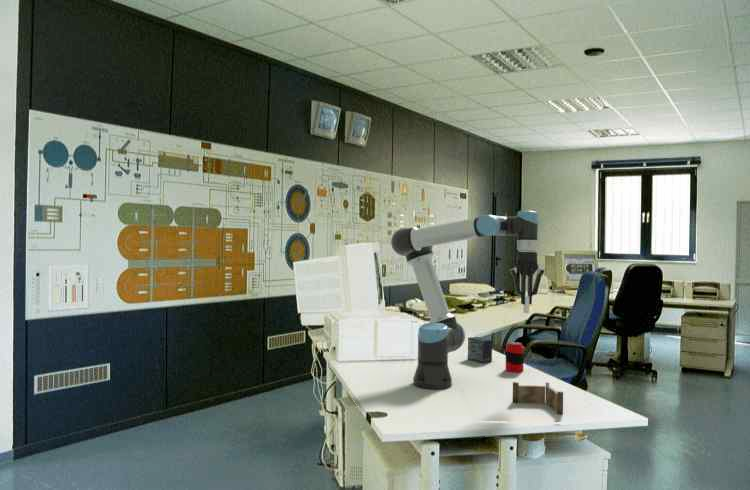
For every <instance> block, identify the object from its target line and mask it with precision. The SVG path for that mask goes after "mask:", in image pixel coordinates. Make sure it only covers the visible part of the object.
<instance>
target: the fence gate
mask: <svg viewBox="0 0 750 490" xmlns="http://www.w3.org/2000/svg"><path fill="white" fill-rule="evenodd" d="M544 404H547V406H549V407H550V408H551V409H553V410H554V411H555V412H556V413H557V415H563V414H564V392H563V391H559V390H558V391H557V390H555V389H554V388H553V387H551V386H550V382H545V403H544Z"/></svg>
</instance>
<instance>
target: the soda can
mask: <svg viewBox="0 0 750 490" xmlns="http://www.w3.org/2000/svg"><path fill="white" fill-rule="evenodd" d="M524 349H525V346H524V345H523V344H522V343H521V342H518V341H517V342H516V341H509V342H508V343H507V344H506V345H505V370H506V372H510V373H522V372H523V371H524V353H525V352H524Z"/></svg>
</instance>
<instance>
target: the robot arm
mask: <svg viewBox="0 0 750 490" xmlns="http://www.w3.org/2000/svg"><path fill="white" fill-rule="evenodd" d="M538 227H539V217H538V212H537V211H535V210H534V211H533V210H519V211H518V212H517V215H516V216H505V215H504V216H501V215H493V214H484V215H482V216H481V215H480V216H479V217H473V218H469V219H464V220H463V219H462V220H458V221H454V222H447V223H443V224H436V225H434V226H433V225H432V226H427V227H426V226H425V227H422V228H421V227H420V228H418V227H417V226H414V227H408V228H407V227H404V228H400V229H397V230H396V231H395V232H394V233H393V234H392V236H391V239H390V245H391V247H392V248H391V249H393V251H394V252H395V253H396V254H397V255H400V256H402V257H405V259H406V263H407V264H408V265H410V266H412V268H413V271H414V275H415V278H416V281H417V284H418V287H419V290H420V293H421V295H422V298H423V301H424V304H425V307H426V310H427V314H428V316H429V319H430V320H429V322H428V323H424V324H421V325H420V326H419V328H418V334H417V338H418V339H417V340H418V341H417V367H416V369H415V372H414V375H413V377H412V382H413V385H414V386H416V387H418V388H421V389H427V390H443V389H448V388H450V387H452V385H453V379H452V376H451V373H450V372H451V371H450V368H449V365H448V361H449V360H448V359H449V353H451V352H455V351H457V350H458V349H460V348H461V347H462V346H463V345H464V343H465V341H466V340H465V339H466V332H465V328H464V327H463V326H462V325H461V324H460V323H458V321H457V319H456V316H455V314H452V313H451V312H450V309H449V307H448V304H447V301H446V297H445V295H444V292H443V289H442V287H441V283H440V280H439V278H438V274H437V272H436V269H435V266H434V263H433V259H432V258H433V257H434V253H433V246H438V245H439V246H440V245H443V244H444V245H445V244H450V243H455V242H461V241H464V240H465V241H467V240H473V239H476V238H477V239H478V238H483V237H489V236H491V237H492V236H494V237H499V236H500V237H501V236H502V237H503V236H506V237H507V236H510V237H511V236H513V237H516V238H517V240H516V246H517V247H516V250H517V252H516V263H515V266H514V267H513V268H511V269H509V272H510V274H511V275H512V276H511V277H512V281H513V285H514V289H515V293H516V294H517V295H520V304H521V305H523V306H522V307H523V308H522V309H523V310H522V311H523V314H527V315H528V314H530V305H532V303H533V296H535V295H537V294H538V291H539V286H540V283H541V280H542V277H543V275H544V273H545V270H544V269H541V268H540V267H539V264H538V252H537V251H538V233H539V232H538V230H539V228H538ZM517 272H518V273H519V275H520V282H519V280H518V275H517ZM535 273H536V277H535V281H534V284H533V279H534V274H535ZM526 281H527V282H526ZM526 284H527V287H526ZM526 289H527V290H526ZM526 291H527V295H526Z"/></svg>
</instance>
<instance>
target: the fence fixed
mask: <svg viewBox="0 0 750 490" xmlns="http://www.w3.org/2000/svg"><path fill="white" fill-rule="evenodd" d="M545 397H546V385H529V384H528V385H520V382H518V381H512V403H513V404H546V403H545Z"/></svg>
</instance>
